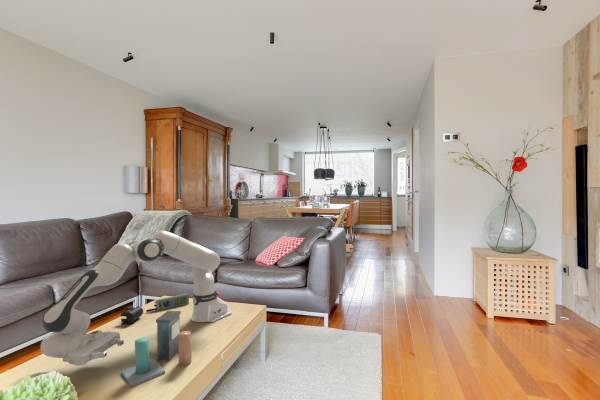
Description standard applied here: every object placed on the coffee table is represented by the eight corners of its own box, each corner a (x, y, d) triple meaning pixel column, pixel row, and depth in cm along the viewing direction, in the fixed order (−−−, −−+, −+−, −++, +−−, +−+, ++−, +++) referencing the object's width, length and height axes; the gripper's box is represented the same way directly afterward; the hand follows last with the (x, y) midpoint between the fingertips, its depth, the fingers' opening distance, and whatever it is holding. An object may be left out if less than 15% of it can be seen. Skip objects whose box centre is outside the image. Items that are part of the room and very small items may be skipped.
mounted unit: (168, 348, 140) (167, 310, 139) (181, 349, 139) (180, 311, 139) (156, 360, 130) (155, 319, 129) (170, 360, 129) (170, 319, 129)
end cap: (133, 324, 166) (133, 312, 166) (120, 324, 167) (120, 312, 167) (143, 317, 176) (143, 305, 176) (131, 317, 177) (131, 305, 177)
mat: (153, 361, 129) (153, 359, 129) (165, 373, 120) (165, 370, 120) (121, 373, 120) (121, 371, 120) (131, 386, 112) (131, 384, 112)
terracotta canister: (188, 357, 132) (187, 329, 131) (193, 362, 128) (193, 333, 128) (176, 362, 128) (176, 333, 128) (181, 366, 124) (181, 337, 124)
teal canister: (145, 365, 124) (144, 336, 123) (152, 369, 121) (151, 339, 121) (133, 371, 119) (132, 341, 119) (140, 375, 117) (139, 344, 116)
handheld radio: (189, 304, 198) (147, 314, 182) (187, 303, 201) (145, 312, 185) (189, 294, 198) (146, 302, 182) (187, 293, 201) (145, 301, 185)
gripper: (58, 351, 113) (93, 353, 111) (101, 328, 133) (131, 329, 131) (59, 369, 113) (93, 371, 111) (101, 342, 133) (131, 344, 131)
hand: (114, 348), depth 121 cm, fingers open, 8 cm apart
